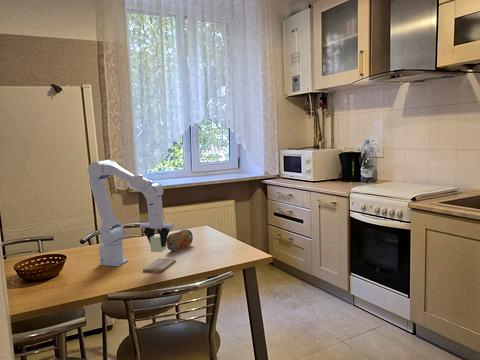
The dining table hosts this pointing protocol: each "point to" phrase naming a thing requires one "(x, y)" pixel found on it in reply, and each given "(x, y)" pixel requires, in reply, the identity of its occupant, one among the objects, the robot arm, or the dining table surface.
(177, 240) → the tin
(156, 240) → the block
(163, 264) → the board
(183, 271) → the dining table surface
